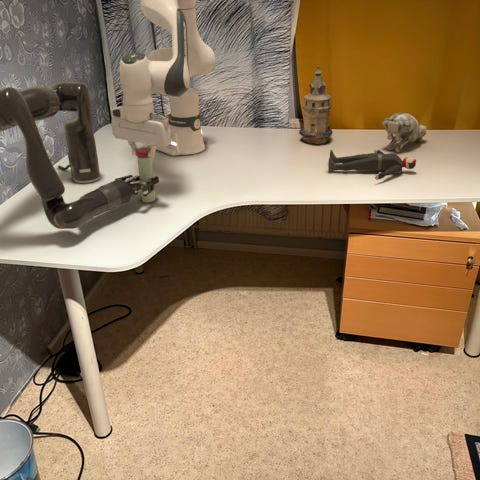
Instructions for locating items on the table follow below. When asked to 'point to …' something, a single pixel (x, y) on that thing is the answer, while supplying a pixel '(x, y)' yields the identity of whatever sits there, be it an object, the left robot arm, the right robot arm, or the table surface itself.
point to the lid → (142, 152)
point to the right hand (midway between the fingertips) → (143, 155)
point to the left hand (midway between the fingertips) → (152, 177)
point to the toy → (371, 163)
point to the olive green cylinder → (146, 175)
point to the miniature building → (316, 112)
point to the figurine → (403, 130)
